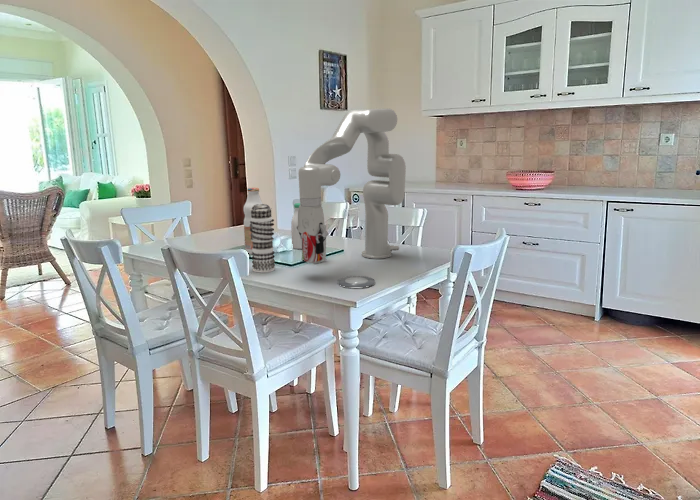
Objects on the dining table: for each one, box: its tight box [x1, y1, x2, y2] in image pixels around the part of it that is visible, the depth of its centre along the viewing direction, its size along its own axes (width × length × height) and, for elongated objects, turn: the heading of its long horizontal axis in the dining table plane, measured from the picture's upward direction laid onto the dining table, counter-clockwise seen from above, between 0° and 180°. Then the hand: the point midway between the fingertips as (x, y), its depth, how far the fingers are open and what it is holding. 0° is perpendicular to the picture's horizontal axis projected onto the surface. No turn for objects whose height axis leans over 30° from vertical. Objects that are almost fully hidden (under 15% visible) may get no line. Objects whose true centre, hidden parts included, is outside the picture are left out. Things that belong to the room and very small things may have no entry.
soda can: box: [302, 230, 323, 264], centre depth 184 cm, size 7×7×12 cm
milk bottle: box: [290, 202, 302, 250], centre depth 231 cm, size 8×8×20 cm
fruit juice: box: [243, 187, 264, 255], centre depth 222 cm, size 9×9×28 cm
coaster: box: [337, 275, 376, 288], centre depth 180 cm, size 13×13×1 cm
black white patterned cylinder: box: [249, 203, 276, 274], centre depth 195 cm, size 9×9×25 cm
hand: (312, 251), depth 185 cm, fingers closed on soda can, 7 cm apart
